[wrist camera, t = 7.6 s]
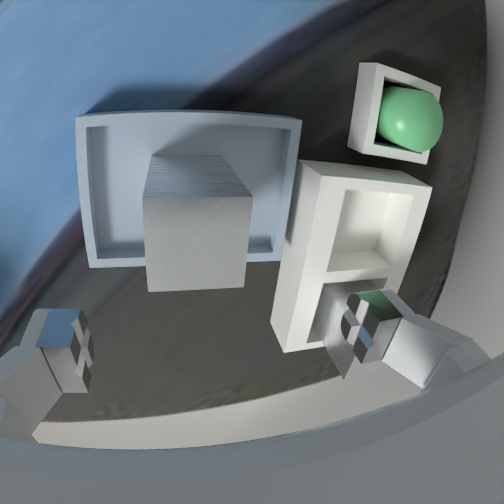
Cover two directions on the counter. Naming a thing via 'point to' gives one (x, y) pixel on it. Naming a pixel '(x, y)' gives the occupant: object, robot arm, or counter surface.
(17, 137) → the counter surface
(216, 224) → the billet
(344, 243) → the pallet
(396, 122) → the button
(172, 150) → the tote
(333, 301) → the block
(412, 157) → the button housing
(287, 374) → the counter surface
